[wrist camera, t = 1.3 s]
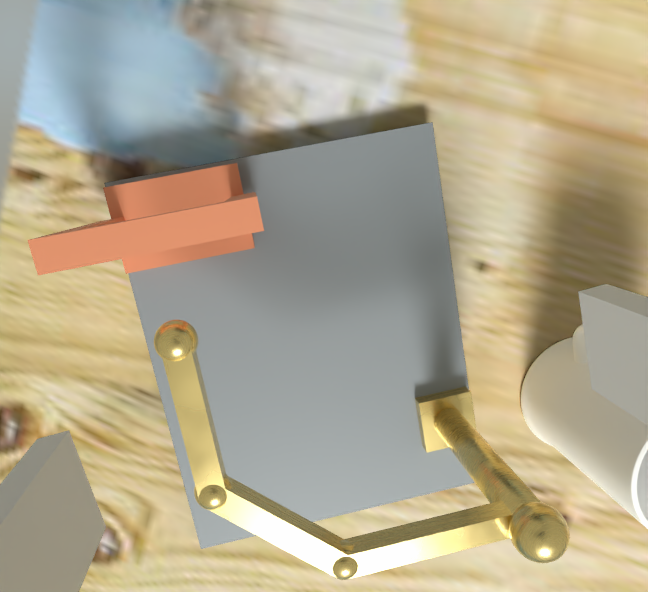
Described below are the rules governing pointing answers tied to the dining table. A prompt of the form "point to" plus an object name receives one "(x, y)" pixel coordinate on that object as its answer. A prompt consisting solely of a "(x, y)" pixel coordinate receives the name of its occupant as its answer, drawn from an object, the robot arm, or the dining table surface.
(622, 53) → the dining table surface
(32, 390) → the dining table surface
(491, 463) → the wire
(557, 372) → the mug
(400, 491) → the board
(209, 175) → the orange rectangular frame
